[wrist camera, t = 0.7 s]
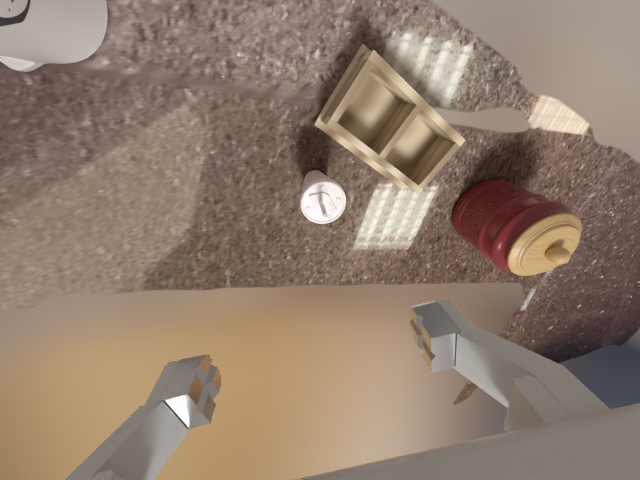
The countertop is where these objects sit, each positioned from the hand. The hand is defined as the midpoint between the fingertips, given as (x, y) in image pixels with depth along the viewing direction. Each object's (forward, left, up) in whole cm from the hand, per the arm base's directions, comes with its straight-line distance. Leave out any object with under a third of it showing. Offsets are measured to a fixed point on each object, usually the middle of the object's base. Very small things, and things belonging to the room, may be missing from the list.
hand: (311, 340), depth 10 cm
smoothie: (+7, -2, -35) cm, 35 cm away
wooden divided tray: (+11, +11, -35) cm, 38 cm away
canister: (+39, +11, -35) cm, 53 cm away
